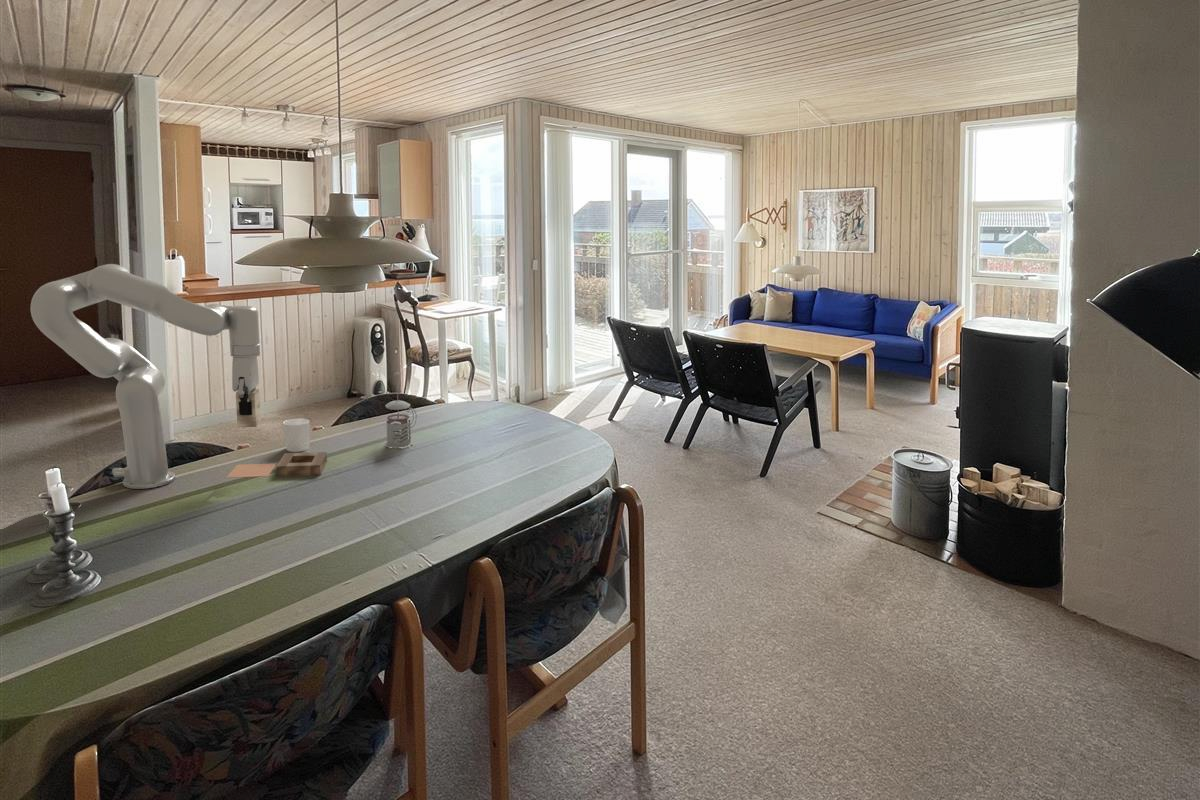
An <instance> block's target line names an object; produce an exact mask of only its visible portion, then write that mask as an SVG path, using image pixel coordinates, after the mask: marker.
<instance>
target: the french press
mask: <svg viewBox="0 0 1200 800" xmlns="http://www.w3.org/2000/svg"><path fill="white" fill-rule="evenodd" d="M393 376H394V377H400V376H401V374H400V372H398V371H397V372H396V371H395V372H394V373H393ZM396 393H397V395H396V397H397V398H396V399H397V400H392V401H389V402H388V403H386V404H385V406H384V407H385V408H386V409H388V410H392V411H393V410H395V411H399V410H405V411H406V412H408V413H409V412H410V411H411V412H412V420H410V416H409V415H408V414H406V413H405V414H400V413H399V412H397V413H394V414H389V415H387V420H386V439H387V440H386V442H385V443H384V444H385V445H386V446H387V447H392V448H399V447H405V446H408V445H411V444H412V442H413V441H412V439H411V438H412V436H411V435H412V432H411V431H412V428H414V426H415V425H416V423H417V419H418V418H417V412H416V410H415V409H414V408H412V407H411V404H410V403H408V402H406V401H404V400H400V399H399V387H398V381H396ZM407 409H408V410H407ZM414 414H415V420H414ZM413 421H414V424H413ZM395 422H397V423H395ZM412 424H413V425H412ZM411 425H412V426H411Z"/></svg>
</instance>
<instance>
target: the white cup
mask: <svg viewBox="0 0 1200 800" xmlns="http://www.w3.org/2000/svg"><path fill="white" fill-rule="evenodd" d="M282 426H283V427H282V429H283V436H284V443H285V448H286V451H288V452H290V453H301V452H304V451H307V450H309V449H310V440H311V439H310V437H311V436H310V435H311V431H310V420H309V419H307V418H303V417H301V418H299V417H297V418H291V419H290V418H288V419H286V420H284V421H283V422H282Z"/></svg>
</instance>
